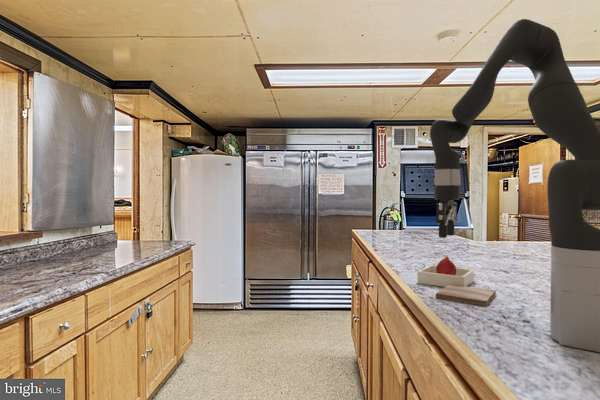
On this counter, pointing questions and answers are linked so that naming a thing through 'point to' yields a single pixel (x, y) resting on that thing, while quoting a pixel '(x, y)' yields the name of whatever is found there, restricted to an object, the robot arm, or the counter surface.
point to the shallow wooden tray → (445, 277)
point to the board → (466, 294)
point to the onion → (446, 267)
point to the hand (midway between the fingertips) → (446, 236)
